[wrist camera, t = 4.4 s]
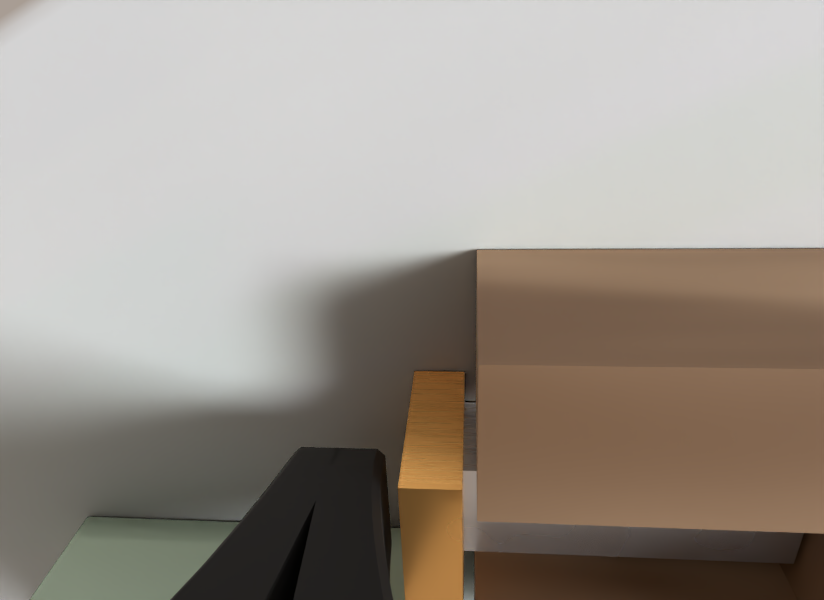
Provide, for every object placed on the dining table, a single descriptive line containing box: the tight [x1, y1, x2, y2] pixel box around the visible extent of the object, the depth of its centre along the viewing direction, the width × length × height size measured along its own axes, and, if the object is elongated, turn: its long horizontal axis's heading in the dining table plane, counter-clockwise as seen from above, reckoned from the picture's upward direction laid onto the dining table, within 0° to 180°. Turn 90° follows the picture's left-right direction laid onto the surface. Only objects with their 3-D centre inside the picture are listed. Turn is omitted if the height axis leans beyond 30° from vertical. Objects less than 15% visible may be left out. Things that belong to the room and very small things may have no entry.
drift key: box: [398, 371, 804, 600], centre depth 9 cm, size 3×6×3 cm, turn 92°
